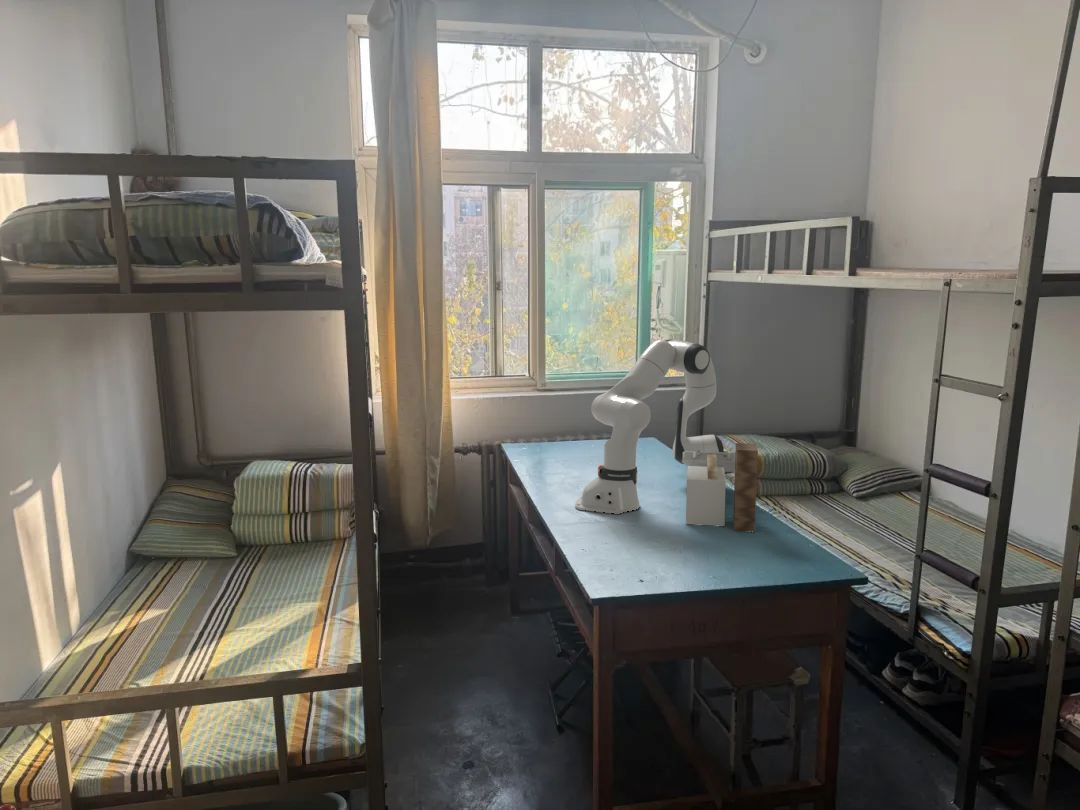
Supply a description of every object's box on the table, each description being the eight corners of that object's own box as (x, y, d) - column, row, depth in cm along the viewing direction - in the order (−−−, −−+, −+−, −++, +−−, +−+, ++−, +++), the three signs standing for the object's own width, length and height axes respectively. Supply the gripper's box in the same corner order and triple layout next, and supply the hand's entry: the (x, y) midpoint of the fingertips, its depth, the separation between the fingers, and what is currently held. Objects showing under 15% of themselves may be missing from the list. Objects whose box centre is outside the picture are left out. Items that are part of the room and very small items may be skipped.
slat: (707, 478, 232) (707, 470, 232) (707, 461, 255) (707, 454, 255) (717, 478, 231) (717, 471, 231) (715, 461, 255) (716, 454, 254)
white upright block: (685, 524, 234) (686, 479, 231) (686, 508, 251) (687, 465, 249) (724, 526, 231) (725, 481, 229) (722, 510, 249) (723, 467, 246)
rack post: (734, 531, 227) (737, 449, 223) (733, 521, 236) (735, 443, 232) (754, 532, 226) (757, 450, 221) (752, 522, 235) (755, 443, 231)
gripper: (682, 454, 269) (681, 443, 256) (739, 456, 264) (741, 444, 252) (681, 471, 267) (681, 460, 254) (739, 473, 262) (741, 462, 250)
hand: (711, 452), depth 253 cm, fingers open, 8 cm apart
